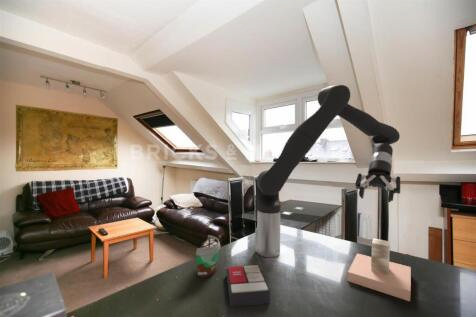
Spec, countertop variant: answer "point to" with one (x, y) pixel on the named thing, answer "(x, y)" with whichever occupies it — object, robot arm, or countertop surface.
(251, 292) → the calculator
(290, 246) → the countertop surface
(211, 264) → the food container
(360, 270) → the plinth
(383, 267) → the ash block
